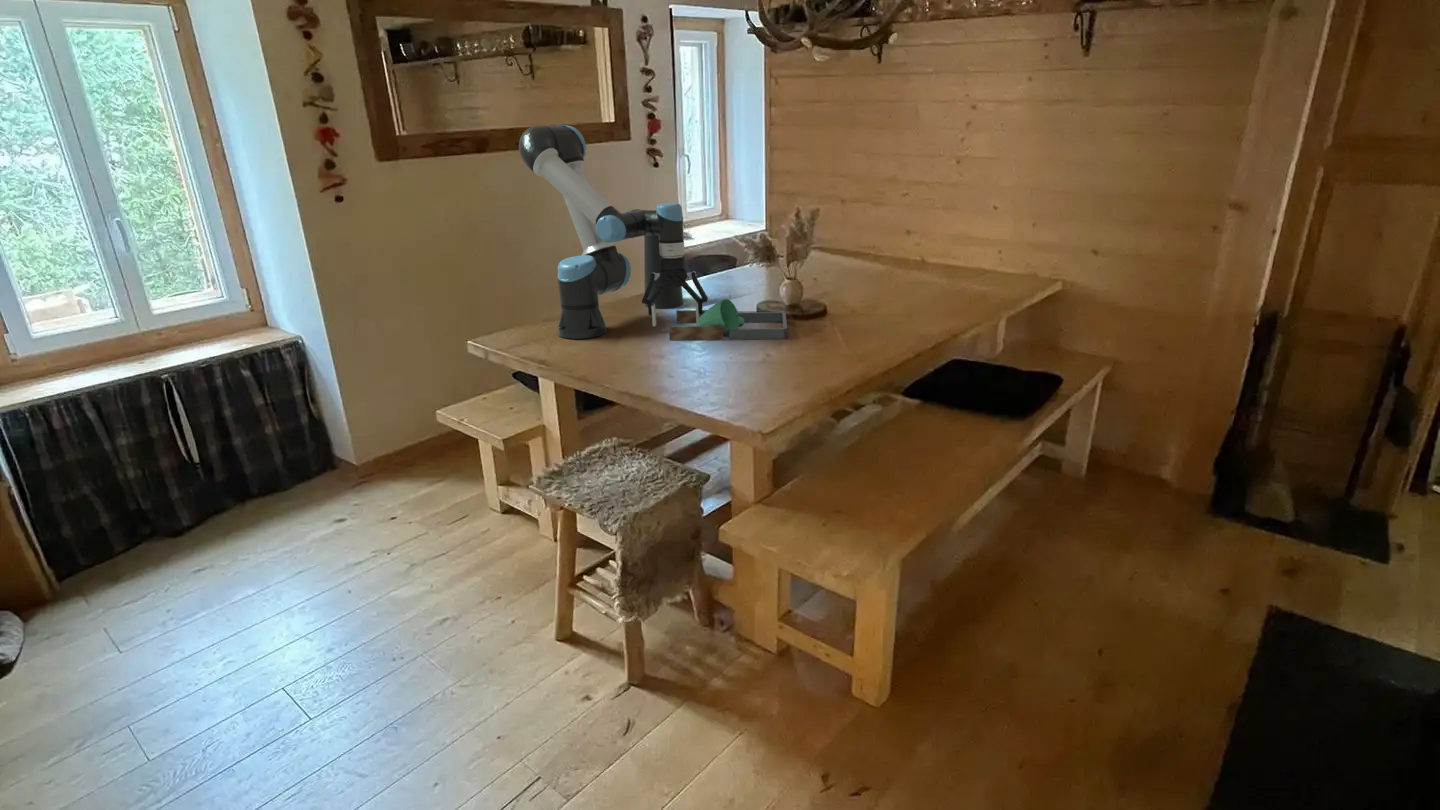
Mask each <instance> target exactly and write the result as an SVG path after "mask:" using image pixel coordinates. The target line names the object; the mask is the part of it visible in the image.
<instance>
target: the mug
mask: <svg viewBox="0 0 1440 810" xmlns="http://www.w3.org/2000/svg"><path fill="white" fill-rule="evenodd" d="M737 309H738V308H737V307H736V305H735V304H734V303H733V302H732V300H730V299H727V298H725V299H722V300H720V301H718V302H716V303H714V305H712V306H711V307H709V308H708V309H706V310H707V311H706V312H704V313H703V314H702V315H701V316H700V318H699V325H698V326H723V333H730V329H739V328H741V327H743V326H744V324H745V322H744V319H743V318H742V317H739V315H738V313H739V312H738V310H737Z"/></svg>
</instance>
